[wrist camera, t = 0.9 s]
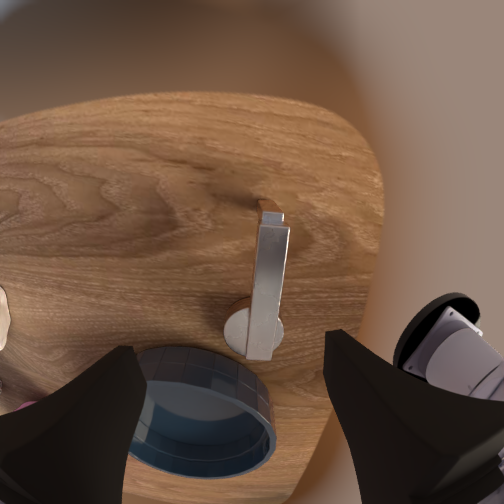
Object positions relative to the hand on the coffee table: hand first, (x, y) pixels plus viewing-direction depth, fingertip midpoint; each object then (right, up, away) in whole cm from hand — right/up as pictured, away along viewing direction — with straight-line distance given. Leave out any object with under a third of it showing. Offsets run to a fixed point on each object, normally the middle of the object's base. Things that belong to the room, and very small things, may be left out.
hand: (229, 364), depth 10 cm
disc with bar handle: (+1, +2, +9) cm, 9 cm away
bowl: (-5, -10, +12) cm, 16 cm away
